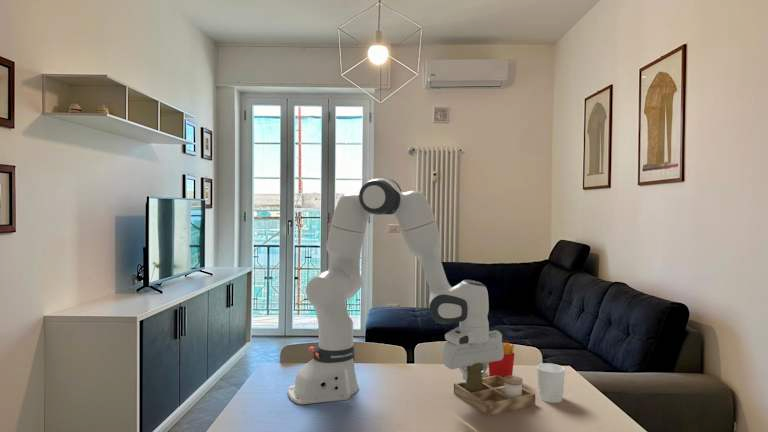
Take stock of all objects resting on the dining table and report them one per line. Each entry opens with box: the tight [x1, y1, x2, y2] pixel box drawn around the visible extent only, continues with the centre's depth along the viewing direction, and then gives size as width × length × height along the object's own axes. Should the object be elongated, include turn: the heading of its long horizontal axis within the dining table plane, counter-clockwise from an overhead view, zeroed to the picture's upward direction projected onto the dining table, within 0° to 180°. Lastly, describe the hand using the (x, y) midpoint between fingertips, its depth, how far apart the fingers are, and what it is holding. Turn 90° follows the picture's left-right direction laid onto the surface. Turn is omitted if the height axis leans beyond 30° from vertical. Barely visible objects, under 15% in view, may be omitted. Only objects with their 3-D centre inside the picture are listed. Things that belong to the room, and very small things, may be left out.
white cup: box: [536, 362, 566, 404], centre depth 142 cm, size 8×8×10 cm
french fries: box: [488, 342, 515, 378], centre depth 158 cm, size 9×4×13 cm, turn 86°
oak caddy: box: [453, 375, 536, 417], centre depth 142 cm, size 17×17×4 cm
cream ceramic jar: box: [504, 374, 523, 398], centre depth 140 cm, size 5×5×7 cm
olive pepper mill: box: [465, 363, 483, 393], centre depth 144 cm, size 6×6×11 cm
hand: (474, 378), depth 144 cm, fingers closed on olive pepper mill, 4 cm apart
